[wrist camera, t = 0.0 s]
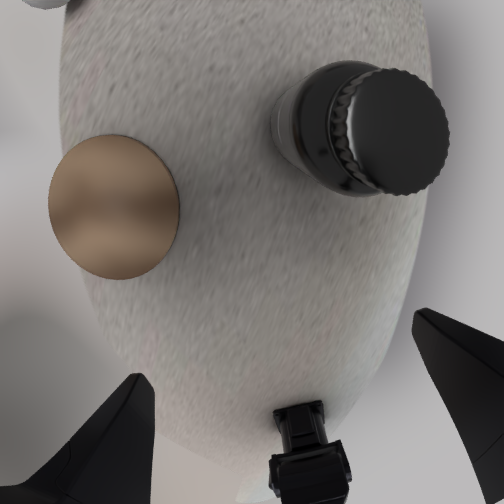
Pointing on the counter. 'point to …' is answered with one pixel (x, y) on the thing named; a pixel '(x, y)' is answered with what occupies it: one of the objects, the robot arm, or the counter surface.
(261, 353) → the counter surface
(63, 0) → the donut
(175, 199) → the walnut trivet
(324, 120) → the supplement bottle
